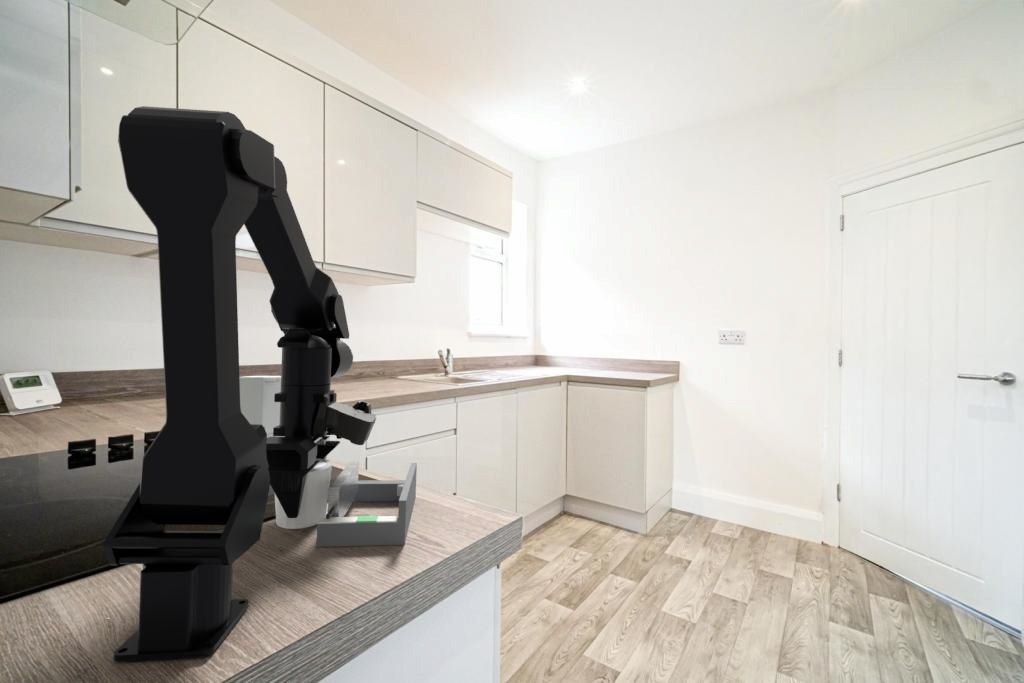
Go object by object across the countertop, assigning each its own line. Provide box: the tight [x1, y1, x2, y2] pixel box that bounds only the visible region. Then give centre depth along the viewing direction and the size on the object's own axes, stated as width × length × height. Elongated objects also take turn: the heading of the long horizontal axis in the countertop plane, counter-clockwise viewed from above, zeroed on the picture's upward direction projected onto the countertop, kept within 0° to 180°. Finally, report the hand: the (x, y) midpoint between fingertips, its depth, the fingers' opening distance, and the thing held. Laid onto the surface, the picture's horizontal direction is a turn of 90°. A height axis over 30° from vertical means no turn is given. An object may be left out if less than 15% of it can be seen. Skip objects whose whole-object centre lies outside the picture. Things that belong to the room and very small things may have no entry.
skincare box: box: [239, 375, 285, 438], centre depth 91 cm, size 8×6×15 cm
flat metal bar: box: [325, 461, 360, 519], centre depth 56 cm, size 13×1×4 cm, turn 8°
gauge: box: [316, 462, 418, 548], centre depth 58 cm, size 16×10×5 cm, turn 8°
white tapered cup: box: [273, 458, 333, 530], centre depth 57 cm, size 7×7×7 cm
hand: (301, 507), depth 57 cm, fingers closed on white tapered cup, 6 cm apart
